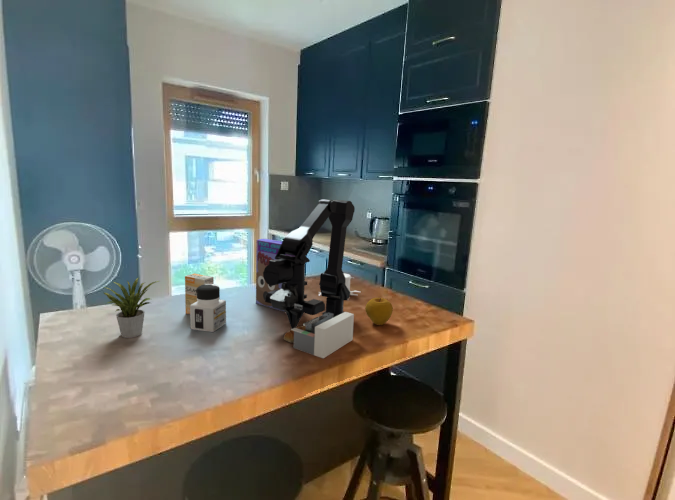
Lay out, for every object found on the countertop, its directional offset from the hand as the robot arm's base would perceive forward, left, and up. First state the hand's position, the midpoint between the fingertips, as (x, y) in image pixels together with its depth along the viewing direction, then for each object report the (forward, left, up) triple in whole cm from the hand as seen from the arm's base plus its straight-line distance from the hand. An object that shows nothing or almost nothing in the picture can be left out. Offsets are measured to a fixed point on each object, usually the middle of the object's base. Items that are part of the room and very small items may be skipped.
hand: (293, 328), depth 112 cm
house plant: (+28, -36, -2) cm, 45 cm away
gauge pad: (+1, +10, -1) cm, 10 cm away
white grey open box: (0, +10, -2) cm, 10 cm away
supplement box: (+7, -35, -2) cm, 36 cm away
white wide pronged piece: (-45, -12, -2) cm, 47 cm away
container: (+12, -24, -2) cm, 27 cm away
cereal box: (-15, -20, -2) cm, 25 cm away
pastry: (+1, +4, -2) cm, 5 cm away
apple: (-24, +16, -2) cm, 29 cm away
